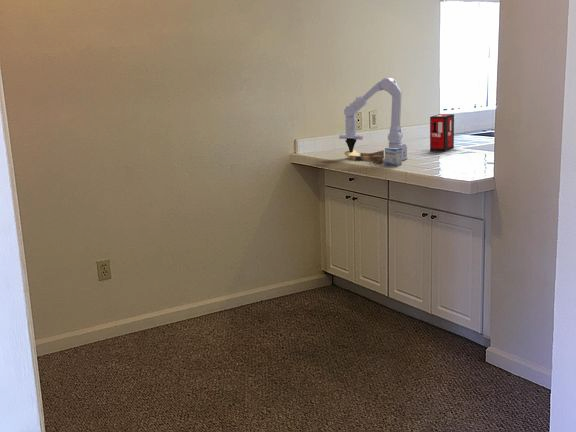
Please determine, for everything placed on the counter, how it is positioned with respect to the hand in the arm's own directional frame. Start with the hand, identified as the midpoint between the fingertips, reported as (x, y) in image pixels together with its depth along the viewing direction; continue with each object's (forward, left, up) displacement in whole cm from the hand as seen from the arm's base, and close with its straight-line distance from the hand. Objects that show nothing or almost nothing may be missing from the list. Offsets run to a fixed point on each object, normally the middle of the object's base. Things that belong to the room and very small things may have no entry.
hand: (351, 152), depth 358 cm
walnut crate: (-22, +7, -4) cm, 23 cm away
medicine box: (-32, +8, -4) cm, 33 cm away
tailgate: (-4, 0, -3) cm, 5 cm away
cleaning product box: (-30, -52, -4) cm, 60 cm away
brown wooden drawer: (-11, 0, -4) cm, 11 cm away
